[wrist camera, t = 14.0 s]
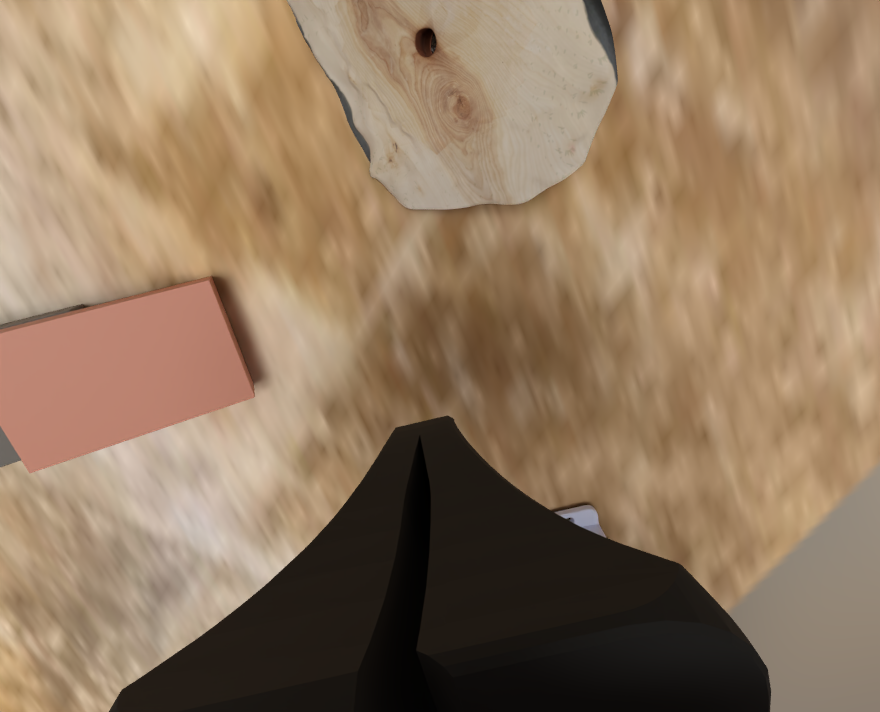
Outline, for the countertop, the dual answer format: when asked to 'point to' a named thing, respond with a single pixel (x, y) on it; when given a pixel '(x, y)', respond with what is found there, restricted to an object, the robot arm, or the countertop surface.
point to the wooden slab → (466, 91)
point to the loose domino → (117, 372)
